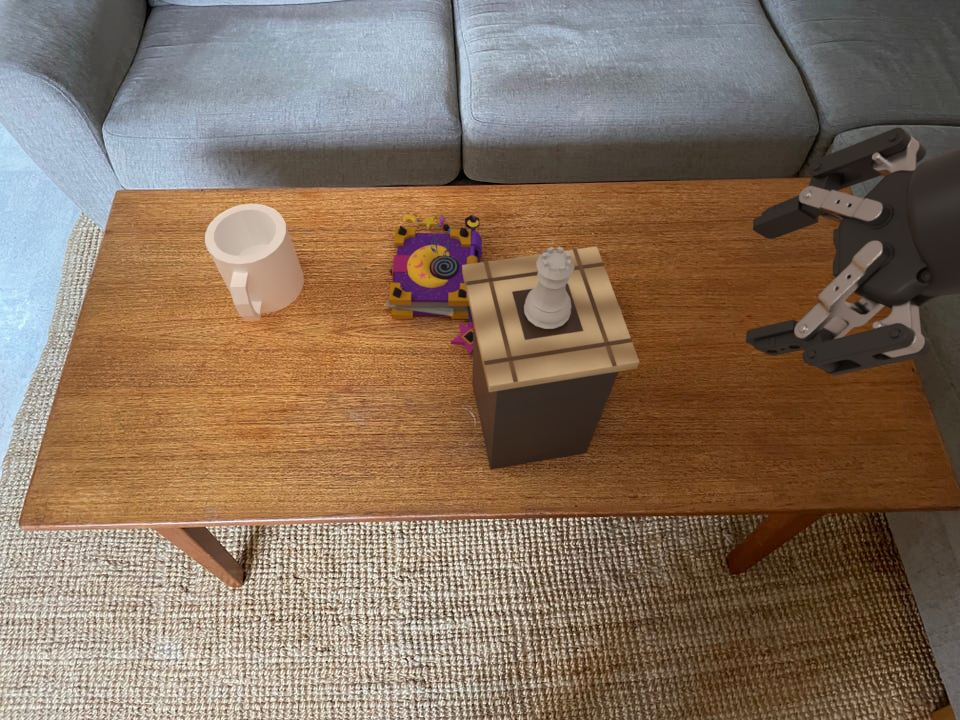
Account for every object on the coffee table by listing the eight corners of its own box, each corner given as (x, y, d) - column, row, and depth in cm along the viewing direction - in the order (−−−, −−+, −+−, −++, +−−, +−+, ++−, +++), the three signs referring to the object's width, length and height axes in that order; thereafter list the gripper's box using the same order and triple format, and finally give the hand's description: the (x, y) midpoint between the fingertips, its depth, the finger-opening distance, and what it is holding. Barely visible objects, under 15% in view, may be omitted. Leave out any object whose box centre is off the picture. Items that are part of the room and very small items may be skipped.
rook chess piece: (556, 339, 60) (567, 287, 53) (514, 318, 61) (520, 264, 54) (578, 306, 62) (592, 251, 55) (537, 286, 63) (546, 230, 56)
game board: (636, 368, 60) (640, 361, 59) (488, 392, 59) (489, 385, 57) (595, 253, 67) (597, 245, 66) (462, 272, 66) (462, 264, 64)
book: (489, 223, 98) (492, 161, 88) (489, 365, 86) (492, 312, 75) (393, 222, 98) (384, 159, 88) (379, 364, 85) (366, 310, 75)
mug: (297, 332, 88) (277, 284, 79) (221, 334, 87) (192, 286, 78) (307, 255, 95) (290, 202, 85) (237, 256, 94) (212, 204, 85)
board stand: (586, 453, 79) (623, 361, 60) (490, 469, 78) (497, 381, 59) (561, 369, 85) (588, 262, 67) (472, 383, 84) (473, 278, 65)
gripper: (999, 39, 32) (726, 174, 46) (1019, 304, 28) (713, 365, 42) (1066, 110, 35) (793, 216, 49) (1093, 356, 31) (787, 396, 45)
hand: (756, 284), depth 45 cm, fingers open, 8 cm apart
